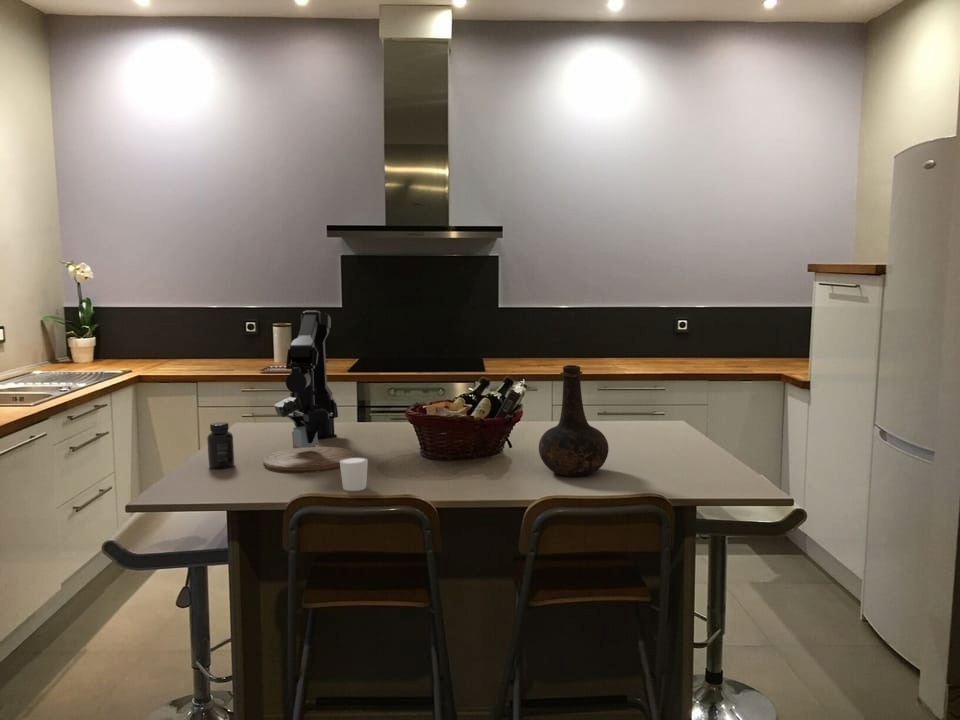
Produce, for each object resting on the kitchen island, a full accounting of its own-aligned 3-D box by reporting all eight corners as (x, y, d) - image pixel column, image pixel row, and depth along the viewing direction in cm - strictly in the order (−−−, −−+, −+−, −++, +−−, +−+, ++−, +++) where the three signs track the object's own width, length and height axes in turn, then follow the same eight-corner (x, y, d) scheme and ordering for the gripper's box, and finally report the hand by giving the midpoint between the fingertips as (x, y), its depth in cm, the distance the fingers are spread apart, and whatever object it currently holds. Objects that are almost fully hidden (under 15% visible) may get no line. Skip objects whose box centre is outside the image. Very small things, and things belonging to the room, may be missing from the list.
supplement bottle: (238, 463, 235) (236, 421, 234) (228, 469, 229) (226, 425, 227) (214, 463, 236) (212, 421, 235) (204, 469, 229) (202, 425, 228)
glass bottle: (616, 467, 224) (616, 362, 221) (596, 484, 208) (597, 371, 205) (552, 462, 231) (551, 360, 228) (529, 477, 215) (528, 368, 212)
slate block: (309, 442, 245) (309, 425, 245) (317, 445, 241) (317, 428, 241) (293, 444, 242) (293, 427, 242) (301, 447, 238) (300, 430, 238)
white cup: (341, 484, 211) (340, 457, 210) (369, 483, 212) (368, 456, 211) (339, 492, 204) (338, 463, 203) (367, 491, 205) (367, 462, 204)
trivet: (372, 461, 237) (372, 454, 237) (298, 478, 219) (297, 471, 219) (319, 449, 254) (318, 443, 254) (245, 464, 236) (245, 457, 236)
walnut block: (308, 445, 258) (307, 429, 258) (315, 448, 254) (314, 431, 254) (292, 447, 255) (292, 431, 255) (300, 450, 251) (299, 433, 251)
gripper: (263, 386, 243) (266, 440, 244) (291, 394, 228) (294, 451, 230) (299, 383, 249) (301, 435, 251) (328, 390, 234) (330, 445, 236)
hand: (306, 441), depth 242 cm, fingers closed on slate block, 5 cm apart
